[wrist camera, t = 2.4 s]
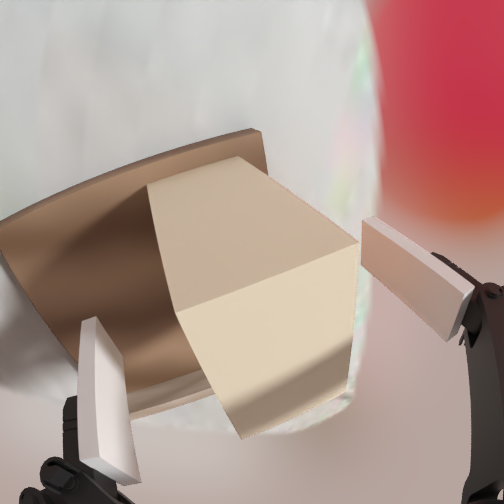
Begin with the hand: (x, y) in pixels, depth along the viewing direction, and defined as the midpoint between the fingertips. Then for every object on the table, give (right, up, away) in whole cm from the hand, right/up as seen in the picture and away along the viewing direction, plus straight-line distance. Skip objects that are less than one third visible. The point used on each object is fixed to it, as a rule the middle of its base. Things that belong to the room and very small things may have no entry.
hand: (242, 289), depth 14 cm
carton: (-2, +3, +4) cm, 5 cm away
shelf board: (-6, -1, +6) cm, 8 cm away
